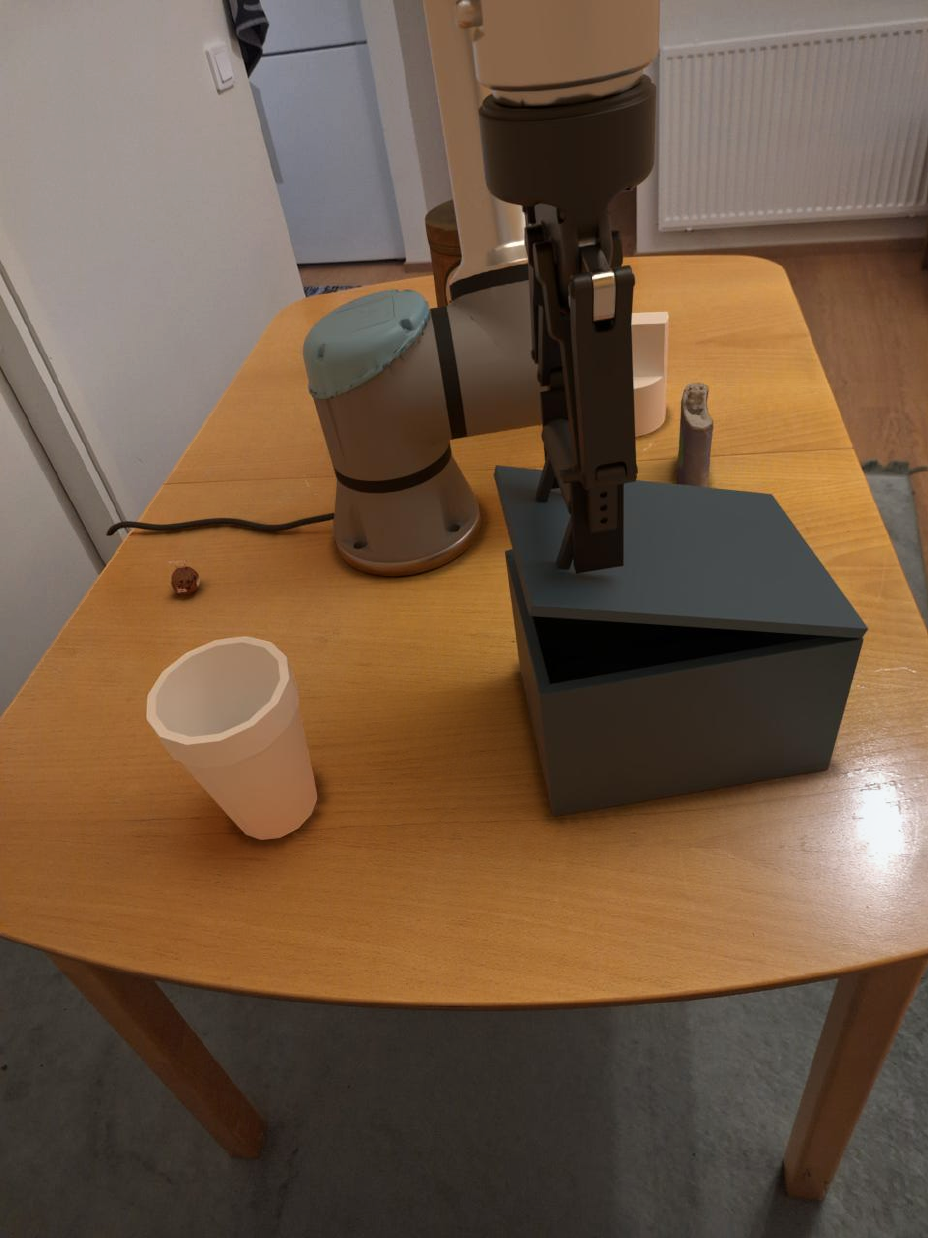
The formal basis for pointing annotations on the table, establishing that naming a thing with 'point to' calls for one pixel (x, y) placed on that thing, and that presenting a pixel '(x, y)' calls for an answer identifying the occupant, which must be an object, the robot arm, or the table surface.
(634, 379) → the cylinder with rectangular tab
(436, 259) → the wooden container
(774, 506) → the lunchbox lid
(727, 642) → the box
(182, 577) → the chocolate
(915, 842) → the table surface
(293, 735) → the foam cup
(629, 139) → the robot arm
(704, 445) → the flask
